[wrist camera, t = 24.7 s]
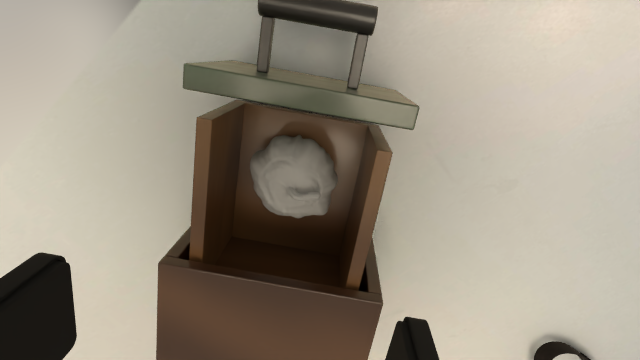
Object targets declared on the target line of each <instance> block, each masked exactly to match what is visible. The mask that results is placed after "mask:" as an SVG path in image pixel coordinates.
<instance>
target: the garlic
mask: <svg viewBox="0 0 640 360" xmlns="http://www.w3.org/2000/svg"><path fill="white" fill-rule="evenodd" d="M250 171H251V175H252V179H253V182H254V190H255V192H256V193H257V195H258V196H259V197H260V198H261V200H262V203H263V205H264V206H265V207H266V208H267V209H268V210H269V211H270V212H273V213H275V214H277V215H282V216H292V217H295V218H302V217H304V216H310V215H325V214H326V213H327V211H328V208H329V206H330V203H331V191H332V190H333V189H334V188H335V187H336V185H337V182H338V176H337V173H336V172H335V170H334V162H333V160H332V159H331V157H330V154H328V153H326V151H325V149H324V148H322V147H320V146H319V145H318V143H317V142H316V141H314V140H313V139H303V138H302V137H301V135H297V136H296V137H289V136H285V135H282V136H276V137H274V138H273V139H272V140H271V141H270V143H269V145H268V146H267V147H266V149H265V150H259V151H257V152H256V153H255V154H254V155H253V156H252V158H251V161H250Z"/></svg>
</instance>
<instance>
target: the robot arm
mask: <svg viewBox="0 0 640 360" xmlns="http://www.w3.org/2000/svg"><path fill="white" fill-rule="evenodd" d="M76 337H77V334H76V323H75V312H74V302H73V291H72V281H71V270H70V265H69V263H67V262H66V260H65V258H64V257H62V256H58V255H53V254H47V253H37V254H35V255H34V256H32V257H31V258H29V259H28V260H26V261H25V262H23V263H22V264H21V265H19V266H18V267H16V268H15V269H13V270H12V271H10V272H9V273H7V274H6V275H5V276H3V277H2V278H0V360H62V359H63V358H64V357H65V356H66V355H67V354H68V352H69V351H70V350H71V349H72V347H73V346H74V344H75V341H76ZM385 360H439V357H438V354H437V351H436V348H435V344H434V341H433V338H432V335H431V331H430V328H429V325H428V323H427V321H426V320H422V319H416V318H411V317H405V318H404V321H403V322H402V321H398V322H397V324H396V327H395V330H394V333H393V337H392V340H391V343H390V346H389V349H388V353H387V356H386V359H385Z"/></svg>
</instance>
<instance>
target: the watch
mask: <svg viewBox="0 0 640 360" xmlns="http://www.w3.org/2000/svg"><path fill="white" fill-rule="evenodd" d="M565 353H570V354H576V355H578V356H579V357H580V358H581V360H590V359H589V358H588V357H586V356H585V355H584V354H582V353H579V352H578V351H576V350H575V349H574V348H572V347H571V346H569V345H567V344H565V343H562V342H548V343H545V344H543V345H542V346H540V347H539V348H538V350H537V351H536V353H535V356H534V360H553V358H554V357H556V356H558V355H561V354H565Z"/></svg>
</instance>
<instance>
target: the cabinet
mask: <svg viewBox="0 0 640 360" xmlns="http://www.w3.org/2000/svg"><path fill="white" fill-rule="evenodd" d="M190 234H191V226H190V227H189V229H188V230H187V231H186V232H185V233H184V234H183V235H182V237H181V238H180V239H179V240H178V241H177V242H176V243H175V245H174V246H173V247H172V248H171V249H170V250H169V251H168V253H167V254H166V255H165V256H164V257H163V258H162V259H161V261H160V262H159V263H158V301H157V350H156V360H368V356H369V353H370V349H371V345H372V342H373V338H374V335H375V331H376V327H377V324H378V320H379V317H380V313H381V310H382V306H383V300H382V293H381V287H380V281H379V275H378V269H377V263H376V257H375V251H374V245H373V239H372V238H371V242H370V246H369V250H368V254H367V258H366V262H365V266H364V270H363V274H362V278H361V282H360V286H359V290H358V291H357V290H351V289H346V288H340V287H335V286H329V285H324V284H318V283H312V282H307V281H301V280H296V279H290V278H285V277H279V276H273V275H268V274H262V273H257V272H251V271H246V270H240V269H234V268H229V267H223V266H218V265H212V264H207V263H201V262H195V261H190V260H189V252H190Z"/></svg>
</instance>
